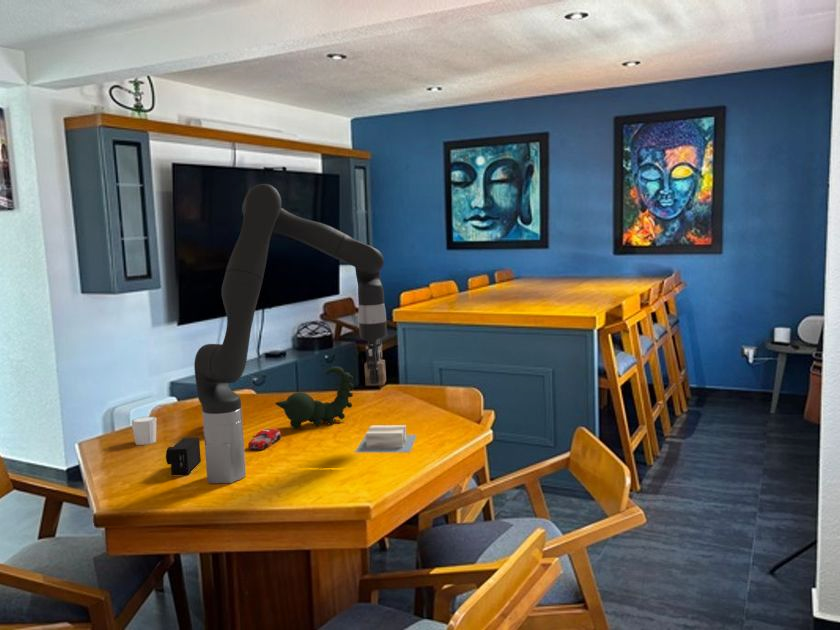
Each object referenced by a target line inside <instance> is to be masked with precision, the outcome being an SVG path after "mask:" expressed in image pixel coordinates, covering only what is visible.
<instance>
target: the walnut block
mask: <svg viewBox="0 0 840 630" xmlns="http://www.w3.org/2000/svg"><path fill="white" fill-rule="evenodd" d="M363 365H364V377H365V379H364V382H365V386H384V385H385V384H386V382H387V375H386V374H387V372H386V369H387V368H386V360H385V359H383V360H380V361H379V362H378V379H379V382H378V383H377V384H371V383H370V370H369V369H368V368H367V361H365V362H364V364H363ZM371 365H374V362H371Z"/></svg>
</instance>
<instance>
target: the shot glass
mask: <svg viewBox="0 0 840 630" xmlns="http://www.w3.org/2000/svg"><path fill="white" fill-rule="evenodd" d="M131 427H132V432H133V437H134V442H135V445H136V446H146V445H151V444H155V443H156V442H157V417H155V416H142V417H137V418H134V419H132V420H131Z"/></svg>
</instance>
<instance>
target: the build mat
mask: <svg viewBox="0 0 840 630" xmlns="http://www.w3.org/2000/svg"><path fill="white" fill-rule="evenodd" d="M417 436H418V435H417V434H406V438H407V439H406V441H405V444H404V446H403V448H367V447H366V435H364V438H363V439H362V440H361V442H360V443H359V445H358V446H357V448H356V449H355V451H354V453H411V451H412V448H413V446H414V444H415V440H416V438H417Z"/></svg>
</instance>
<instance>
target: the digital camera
mask: <svg viewBox="0 0 840 630" xmlns="http://www.w3.org/2000/svg"><path fill="white" fill-rule="evenodd" d="M200 443H201V442H200V437H183V438H182V439H179V441H178V442H177V443H176V444H175V445H173V446H168V447H167V449H166V451H165V452H166V453H165V460H166V464H167V465H170V469H171V470H170V471H171V476H172V475H182V476H189V475H190V474H191V473H192V472H193V471H194V470H195V469H196V468H197V467H198V466H199V465H200V464H201V463H202V460H201V459H202V457H201V444H200ZM200 462H201V463H200ZM199 463H200V464H199ZM198 464H199V465H198ZM197 465H198V466H197ZM196 466H197V467H196ZM195 467H196V468H195ZM194 468H195V469H194ZM193 469H194V470H193ZM192 470H193V471H192ZM191 471H192V472H191Z"/></svg>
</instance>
